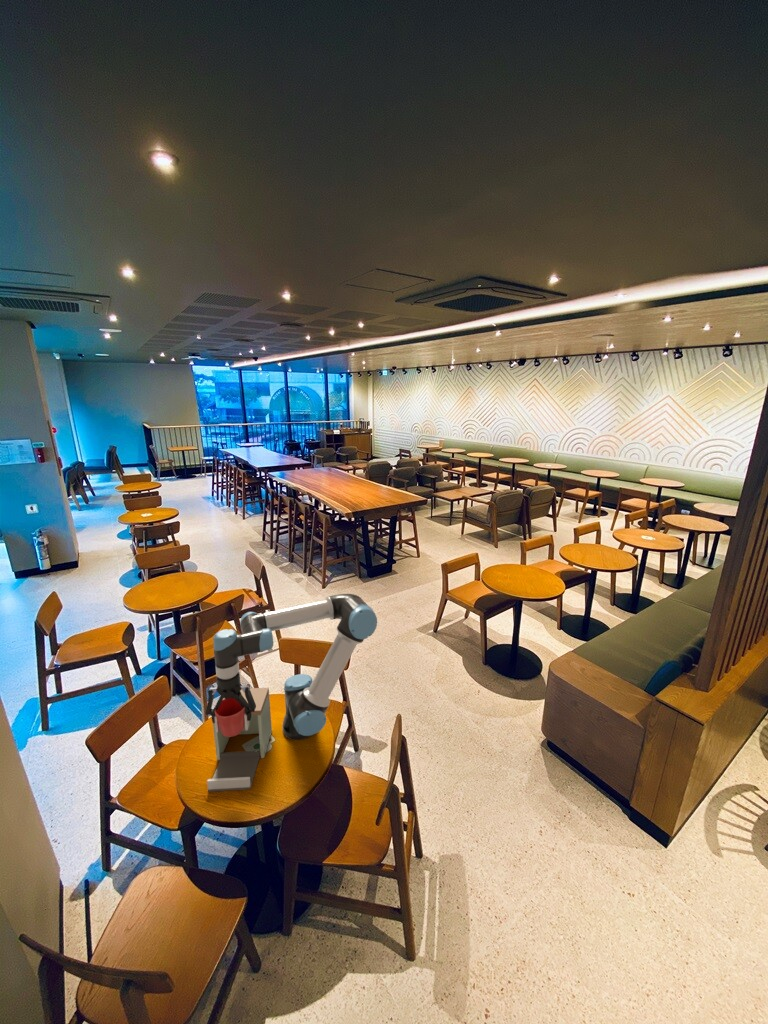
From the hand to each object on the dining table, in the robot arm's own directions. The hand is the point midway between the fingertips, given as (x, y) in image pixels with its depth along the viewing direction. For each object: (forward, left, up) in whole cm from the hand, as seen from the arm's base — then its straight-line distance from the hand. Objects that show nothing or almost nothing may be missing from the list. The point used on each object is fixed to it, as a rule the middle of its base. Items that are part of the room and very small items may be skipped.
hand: (232, 728), depth 142 cm
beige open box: (+1, -14, -20) cm, 24 cm away
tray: (+1, -1, -20) cm, 20 cm away
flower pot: (0, 0, 0) cm, 0 cm away
